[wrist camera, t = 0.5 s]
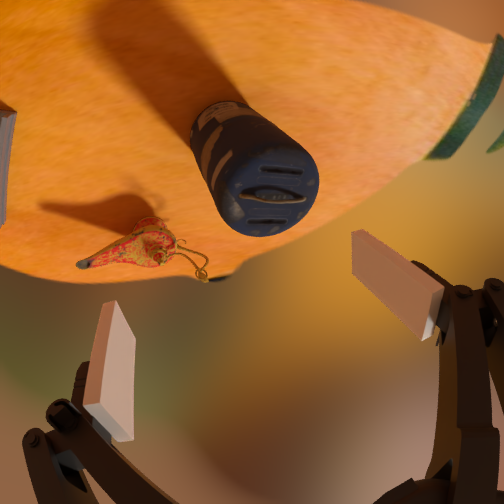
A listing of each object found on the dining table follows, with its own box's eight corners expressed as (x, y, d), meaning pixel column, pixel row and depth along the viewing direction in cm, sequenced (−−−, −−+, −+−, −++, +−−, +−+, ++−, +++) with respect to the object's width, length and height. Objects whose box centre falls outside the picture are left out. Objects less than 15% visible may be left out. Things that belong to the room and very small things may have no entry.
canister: (239, 173, 42) (295, 257, 29) (176, 155, 37) (204, 241, 24) (271, 113, 37) (349, 173, 24) (206, 87, 32) (257, 131, 20)
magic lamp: (77, 214, 37) (67, 268, 29) (201, 210, 44) (219, 260, 36) (83, 252, 41) (77, 308, 33) (196, 247, 48) (212, 299, 40)
